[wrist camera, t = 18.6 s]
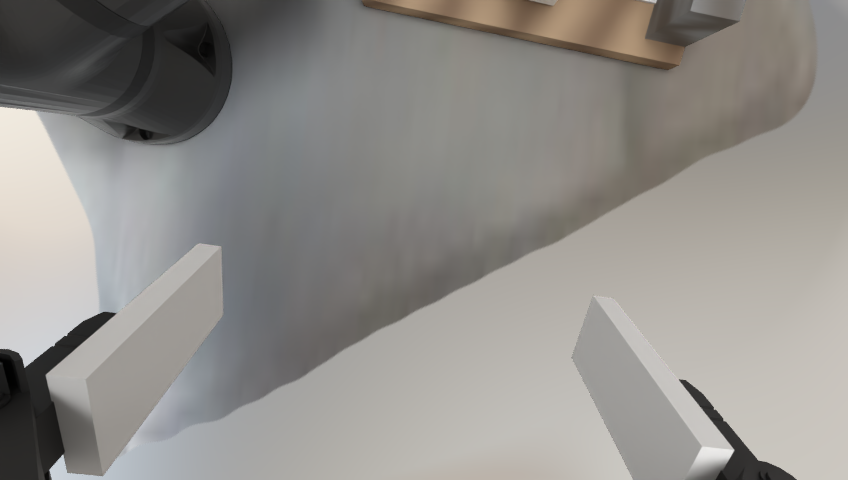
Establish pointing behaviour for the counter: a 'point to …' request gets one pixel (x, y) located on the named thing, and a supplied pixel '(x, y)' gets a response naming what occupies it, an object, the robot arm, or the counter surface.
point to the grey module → (546, 1)
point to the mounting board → (587, 23)
